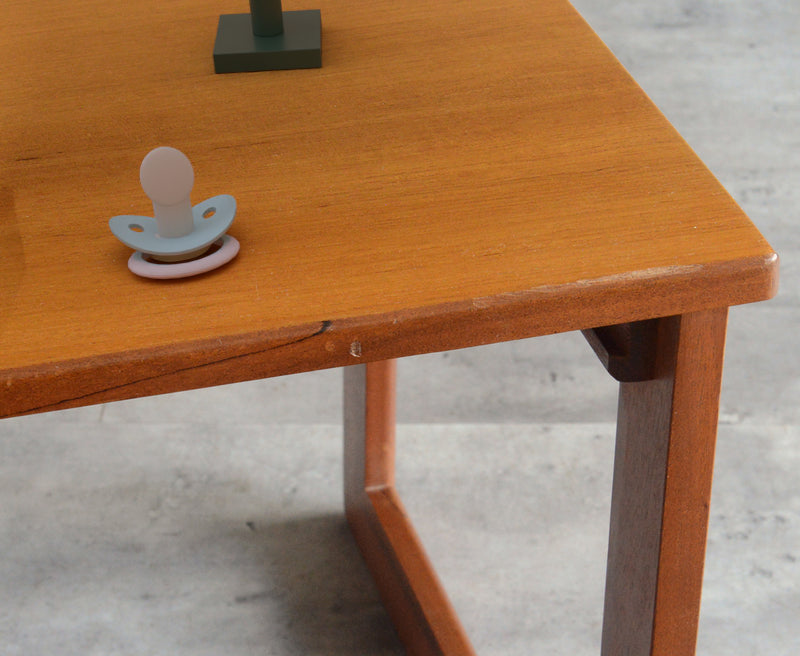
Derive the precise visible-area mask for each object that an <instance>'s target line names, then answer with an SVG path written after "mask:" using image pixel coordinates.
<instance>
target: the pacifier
mask: <svg viewBox="0 0 800 656" xmlns="http://www.w3.org/2000/svg"><path fill="white" fill-rule="evenodd" d="M139 181H140V185H141V188H142V190H143V192H144V193H145V195H146V197H148V198H149V199H150V201H151V203H152V209H153V213H154V217H153V216H145V215H134V214H122V215H116V216H112V217H110V218H109V220H108V227H109V229H110V232H111V233H112V234H113V236H114V237H115V238H117V240H119V242H121V243H122V244H124V245H126V246H127V247H129V248H131V249H133V250H135V251H134V252H133V253H132V254H131V256H130V257H129V258H128V261H127V267H128V269H129V270H130V271H131V273H133V274H135V275H137V276H139V277H143V278H148V279H160V280H167V279H168V280H169V279H181V278H186V277H192V276H197V275H199V274H204V273H207V272H210V271H212V270H215V269H217V268H220V267H221V266H223V265H225V264H227V263H228V262H230V261H231V260H232V259H234V258H235V257H236V256H237V254H238V253H239V252H240V249H241V245H240V242H239V241H238V240H237V238H236V237H234V236H232V235H229V234H227V233H226V232H228V230H229V229H230V228H231V227H232V225H233V223H234V221H235V219H236V216H237V211H238V206H237V201H236V198H235V197H234V196H233V195H230V194H226V193H224V194H219V195H215V196H212V197H209V198H207V199H205V200H203V201H201V202H199V203H196V204H195V205H194V206H192V202H191V201H192V200H191V196H190V195H191V193H192V191H193V189H194V184H195V172H194V168H193V165H192V163H191V161H190V159H189V158H188V157H187V156H186V155H185V154H184V153H183V152H182V151H180V150H179V149H177V148H174V147H171V146H159V147H156V148H154V149H152V150H151V151H149V152H148V153H147V154H146V155H145V156H144V158H143V160H142V162H141V165H140V168H139ZM213 212H214V213H213ZM210 213H213V214H212V216H210V217H207V218H205V217H206V216H207V215H208V214H210ZM133 229H138V230H141V232H140V231H135V230H133ZM212 245H217V246H219V247H220V248H219V249H218V250H217V251H215V252H213V253H211V254H209V255H207V256H205V257H202V258H200V259H197V260H193V261H192V260H191V259H194V258H197V257H199V256H201V255H203V254H204V253H206V252H207V251H209V249H210V248H211V247H212ZM150 257H151V258H152V259H153V260H157V261H160V262H165V263H166V262H167V263H174V262H181V261H187V260H191V261H189V262H183V263H176V264H175V263H174V264H157V263H153V262H152V263H151V262H148V261H147V259H149V258H150Z"/></svg>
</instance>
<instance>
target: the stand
mask: <svg viewBox="0 0 800 656" xmlns="http://www.w3.org/2000/svg"><path fill="white" fill-rule="evenodd" d="M248 3H249V12H245V13H244V12H243V13H227V14H225V13H224V14H219V18H218V23H217V29H216V34H215V39H214V45H213V51H212V60H213V68H214V73H215V74H226V73H227V74H228V73H243V72H244V73H245V72H247V73H248V72H262V71H263V72H264V71H281V70H298V69H299V70H300V69H316V68H322V67H323V44H322V43H323V24H322V23H323V22H322V11H321V8H317V9H300V10H299V9H298V10H283V6H282V0H248Z"/></svg>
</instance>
